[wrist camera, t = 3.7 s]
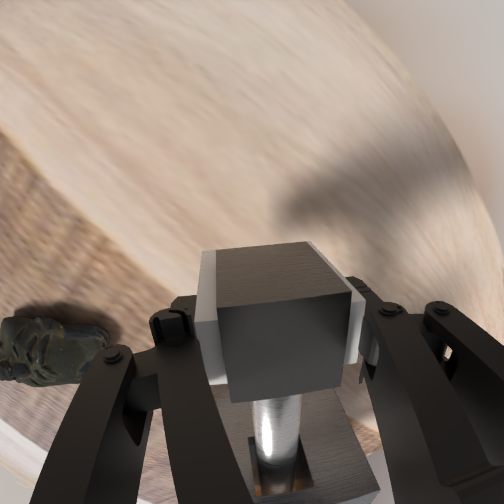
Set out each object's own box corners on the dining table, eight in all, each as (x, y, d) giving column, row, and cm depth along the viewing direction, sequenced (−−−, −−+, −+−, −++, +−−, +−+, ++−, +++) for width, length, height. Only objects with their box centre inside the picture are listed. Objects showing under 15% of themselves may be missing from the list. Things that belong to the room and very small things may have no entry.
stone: (127, 366, 23) (114, 411, 18) (21, 371, 22) (0, 404, 17) (97, 297, 20) (71, 336, 15) (-10, 314, 19) (-39, 343, 14)
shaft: (215, 250, 13) (216, 307, 8) (306, 241, 13) (352, 291, 9) (253, 503, 22) (259, 542, 17) (292, 497, 22) (302, 535, 18)
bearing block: (184, 368, 23) (174, 521, 10) (328, 351, 24) (396, 483, 11) (200, 426, 25) (203, 549, 13) (321, 410, 26) (364, 522, 14)
